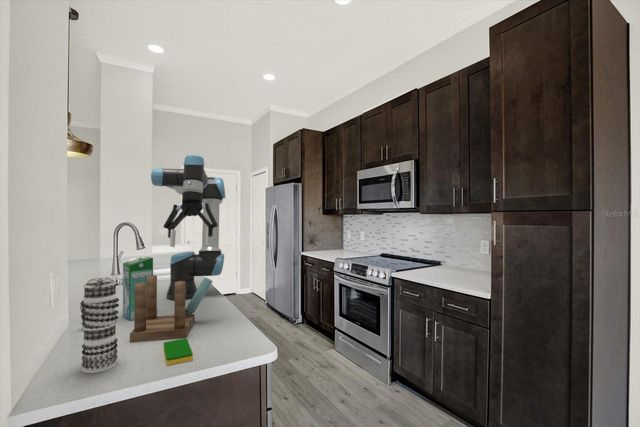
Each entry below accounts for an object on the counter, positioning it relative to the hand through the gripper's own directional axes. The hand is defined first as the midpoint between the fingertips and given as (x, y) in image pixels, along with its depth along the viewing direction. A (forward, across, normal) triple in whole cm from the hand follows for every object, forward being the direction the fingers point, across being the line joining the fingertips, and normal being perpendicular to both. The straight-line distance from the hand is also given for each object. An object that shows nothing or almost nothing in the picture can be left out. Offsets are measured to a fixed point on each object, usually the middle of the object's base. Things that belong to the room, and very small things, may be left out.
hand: (189, 246), depth 122 cm
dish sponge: (+37, +4, -15) cm, 40 cm away
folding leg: (+25, -3, +11) cm, 27 cm away
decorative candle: (+37, -15, -23) cm, 46 cm away
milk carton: (+27, -29, +21) cm, 45 cm away
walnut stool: (+31, -9, +4) cm, 33 cm away
